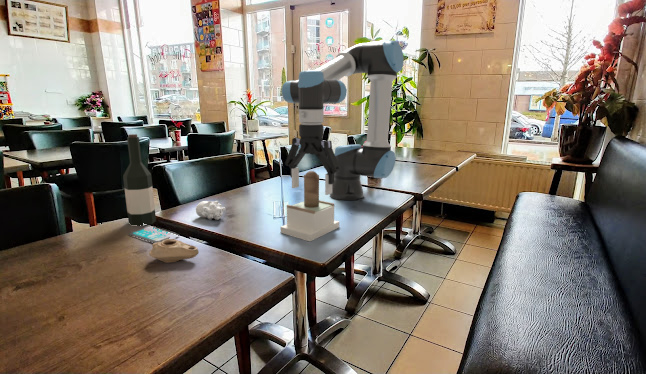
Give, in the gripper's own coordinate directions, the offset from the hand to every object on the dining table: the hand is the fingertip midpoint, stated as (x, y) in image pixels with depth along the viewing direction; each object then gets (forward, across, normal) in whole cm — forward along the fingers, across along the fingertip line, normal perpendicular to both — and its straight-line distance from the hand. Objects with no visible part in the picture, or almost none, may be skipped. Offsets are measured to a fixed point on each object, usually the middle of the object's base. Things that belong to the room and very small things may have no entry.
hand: (311, 190), depth 112 cm
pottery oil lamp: (+13, -14, -40) cm, 45 cm away
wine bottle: (+13, -50, -31) cm, 60 cm away
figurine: (+13, -35, -14) cm, 40 cm away
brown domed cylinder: (+5, 0, 0) cm, 5 cm away
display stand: (+13, 0, -1) cm, 13 cm away
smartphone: (+13, -35, -35) cm, 51 cm away
